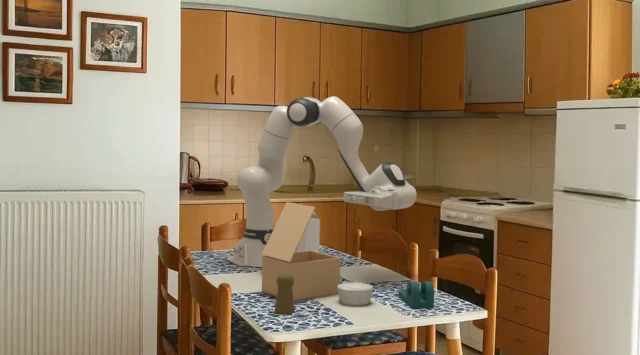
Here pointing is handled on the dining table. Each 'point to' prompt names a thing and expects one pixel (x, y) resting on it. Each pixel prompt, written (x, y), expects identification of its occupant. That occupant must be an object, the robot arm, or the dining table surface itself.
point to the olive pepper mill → (285, 295)
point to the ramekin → (355, 293)
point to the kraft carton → (303, 274)
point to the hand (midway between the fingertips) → (350, 200)
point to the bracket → (418, 295)
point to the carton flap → (288, 231)
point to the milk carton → (311, 236)
